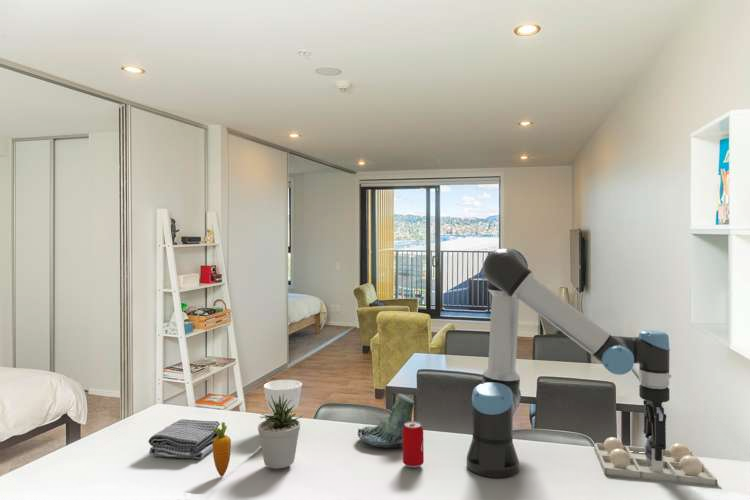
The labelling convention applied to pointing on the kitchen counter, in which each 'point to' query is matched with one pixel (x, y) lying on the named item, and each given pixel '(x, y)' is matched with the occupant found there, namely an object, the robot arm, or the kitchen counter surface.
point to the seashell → (650, 449)
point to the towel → (184, 439)
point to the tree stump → (390, 425)
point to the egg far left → (612, 444)
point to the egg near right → (690, 465)
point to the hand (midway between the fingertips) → (654, 466)
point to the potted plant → (279, 436)
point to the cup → (283, 386)
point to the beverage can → (413, 444)
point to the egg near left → (619, 458)
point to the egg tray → (644, 469)
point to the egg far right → (678, 451)
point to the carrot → (221, 450)
